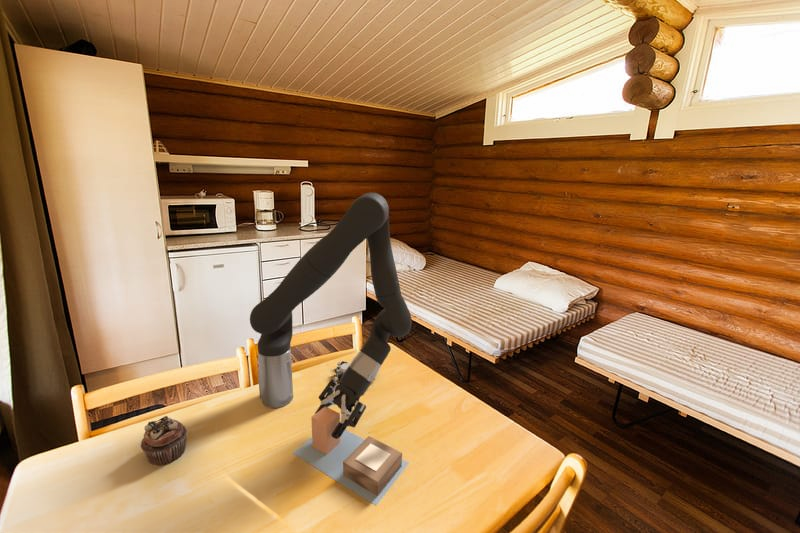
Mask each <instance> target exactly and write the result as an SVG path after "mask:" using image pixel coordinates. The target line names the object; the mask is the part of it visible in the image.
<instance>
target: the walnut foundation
mask: <svg viewBox="0 0 800 533" xmlns="http://www.w3.org/2000/svg"><path fill="white" fill-rule="evenodd" d="M402 459H403V452H402V451H399V450H397V449H395V448H394V447H391V446H389V445H388V444H386V443H384V442H381V441H380V440H378V439H375V438H373V437H372V436H370V435H369V436H367V437H366V438H364V441H363V442H362V443H361V444H360V445H359V446H358V447H357V448H356V449H355V450H354V451H353V452H352V453H351V454H350V455H349V456H348V457H347V458H346V459H345V460H344V461H343V476H345V477H347V478H348V479H350V480H351V481H353V482H355V483H356V484H358V485H360V486H361V487H363V488H365V489H366V490H368V491H370V492H371V493H373V494H375V495H376V496H379V494H380V493H381V492H382V490H383V489H384V488H385V487H386V485H387V484H388V483H389V482H390V480H391V479H392V478H393V477H394V475H395V474H396V473H397V472H398V470H399V469H400V468H401V466H402Z"/></svg>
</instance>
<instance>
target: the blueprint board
mask: <svg viewBox="0 0 800 533" xmlns="http://www.w3.org/2000/svg"><path fill="white" fill-rule="evenodd" d="M364 440H365V438H362V437H360V436H358V435H356V434H355V433H353V432H351V431H349V430H347V429H345V430H344V432H343V434H342V435H341V437H340V443H339V444H338V445H337V446H336V447H335V448H334V449H333V450H332V451H330V452H329V453H328V454H327V455H326V454H325V453H323V452H321V451H320V450H318V449H316V448H314V447H313V446H312V436H311V437H310V438H309V439H308V440H307V441H305V442H304V443H303V444H302V445H301V446H299V447H298V448H296V449H295V450H294V451H293V452H292V454H293V455H295V457H297V458H299V459H301V460H303V461H304V462H306V464H308V465H310V466H311V467H313V468H314V469H316V470H319V472H322V473H323V474H325V475H326V476H328V477H329V478H331V479H333V480H334V481H336V482H337V483H339V484H340V485H342V486H344V487H345V488H347V489H349V490H350V491H352V492H353V493H355V494H357V495H358V496H360V497H361V498H363V499H365V500H366V501H367V502H370V503H371V504H372V505H373V506H378V504H379V503H380V501H382V499H383V498H384V496H385V495H386V494H387V493H388V491H389V490H390V488H391V487H392V486H393V484H394V483H395V482H396V481H397V480H398V479H399V477H400V475H402V473H403V471H404V470H405V469H406V467H407V466H408V465H409V464H410V462H408V461H407V460H405V459H403V458H402V466H401V468H400V469H399V470H398V472H397V473H396V474H395V475H394V477H393V478H392V479H391V480H390V482H389V483H388V484H387V485H386V487H385V488H384V489H383V490H382V492H381V493H380V494H379V496H376V495H375V494H373V493H371V492H370V491H368V490H366V489H365V488H363V487H361V486H360V485H358V484H356V483H355V482H353V481H351V480H350V479H348V478H347V477H345V476H343V461H344V460H345V459H346V458H347V457H348V456H349V455H350V454H351V453H352V452H353V451H354V450H355V449H356V448H357V447H358V446H359V445H360V444H361V443H362V442H363V441H364Z"/></svg>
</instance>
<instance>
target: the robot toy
mask: <svg viewBox="0 0 800 533" xmlns="http://www.w3.org/2000/svg"><path fill="white" fill-rule="evenodd" d="M336 363H337V366H336V368H335V369H334V372H335V374H336V376H334V377H333V378H332V380H333V381H335V382H338V381H339V382H341V381H340V379H341V377H342V376H343V374H344V373H345V371H346V370H347V368H348V367H349V365H350V364H351V362H348V361H338V362H336ZM378 373H379V372H378ZM378 373H377V375H376V376H375V378H376V377H377V376H378Z"/></svg>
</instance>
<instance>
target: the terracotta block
mask: <svg viewBox="0 0 800 533" xmlns="http://www.w3.org/2000/svg"><path fill="white" fill-rule="evenodd" d="M339 422H341V412H337V411H335V410H333V409H332V408H330V407H326V406H325V407H324V408H322V409H321V410H320V411H319V412H317V413H316V414H315V413H314V415H312V416H311V437H312V446H313V447H314V448H316V449H318V450H320V451H321V452H323V453H325V454H326V455H327V454H328V453H329V452H330V451H332V450H333V449H334V448H335V447H336V446H337V445H338V444H339V443H340V437H339V438H338V439H335V438H333V437H332V436H331V434H332V433H333V431H334V429H335V428H336V426H337V425H338V423H339Z"/></svg>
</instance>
